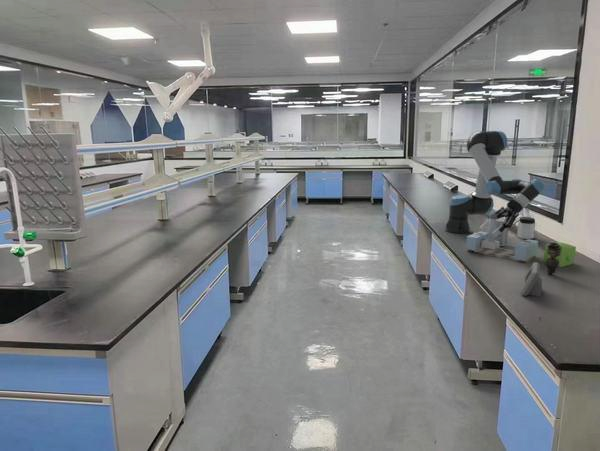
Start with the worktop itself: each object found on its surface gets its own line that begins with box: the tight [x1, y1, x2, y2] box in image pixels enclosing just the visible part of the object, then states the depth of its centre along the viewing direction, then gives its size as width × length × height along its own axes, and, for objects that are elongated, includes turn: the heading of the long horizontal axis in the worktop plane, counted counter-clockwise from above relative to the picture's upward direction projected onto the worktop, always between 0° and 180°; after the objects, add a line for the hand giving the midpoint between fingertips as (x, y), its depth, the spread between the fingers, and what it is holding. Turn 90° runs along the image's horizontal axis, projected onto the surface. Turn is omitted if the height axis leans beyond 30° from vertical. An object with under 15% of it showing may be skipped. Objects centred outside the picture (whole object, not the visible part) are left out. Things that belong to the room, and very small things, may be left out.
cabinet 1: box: [465, 230, 488, 250], centre depth 224 cm, size 5×16×8 cm, turn 132°
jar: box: [516, 216, 536, 240], centre depth 248 cm, size 9×8×12 cm
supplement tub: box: [495, 217, 509, 247], centre depth 233 cm, size 10×10×15 cm
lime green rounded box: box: [542, 241, 578, 268], centre depth 198 cm, size 18×10×10 cm, turn 116°
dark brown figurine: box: [545, 242, 562, 276], centre depth 183 cm, size 6×6×15 cm
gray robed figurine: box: [520, 262, 543, 297], centre depth 165 cm, size 16×9×11 cm, turn 138°
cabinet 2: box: [514, 239, 539, 261], centre depth 206 cm, size 5×16×8 cm, turn 132°
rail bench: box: [467, 247, 536, 264], centre depth 216 cm, size 30×12×2 cm, turn 42°
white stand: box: [481, 212, 500, 250], centre depth 218 cm, size 7×6×19 cm
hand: (487, 232), depth 218 cm, fingers open, 13 cm apart
